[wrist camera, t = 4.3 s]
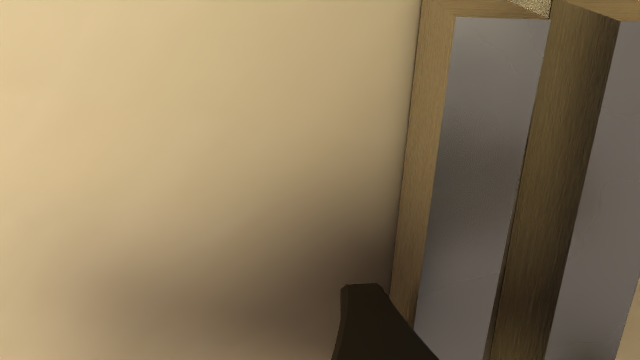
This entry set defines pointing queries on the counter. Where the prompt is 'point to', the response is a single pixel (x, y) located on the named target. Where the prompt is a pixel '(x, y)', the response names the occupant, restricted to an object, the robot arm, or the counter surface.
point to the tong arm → (463, 166)
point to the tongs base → (577, 192)
